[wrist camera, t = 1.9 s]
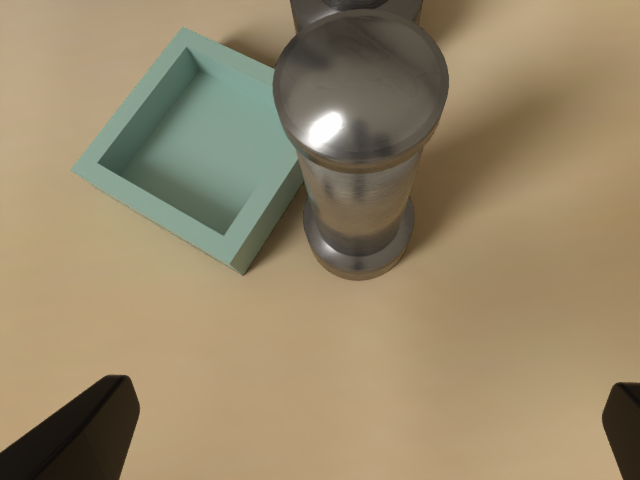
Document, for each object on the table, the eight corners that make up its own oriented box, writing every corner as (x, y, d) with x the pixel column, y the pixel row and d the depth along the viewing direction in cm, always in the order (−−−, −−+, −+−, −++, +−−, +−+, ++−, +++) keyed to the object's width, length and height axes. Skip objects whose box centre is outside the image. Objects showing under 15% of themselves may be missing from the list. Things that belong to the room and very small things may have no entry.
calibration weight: (435, 19, 26) (457, -79, 21) (379, 109, 25) (386, 30, 19) (335, -21, 28) (329, -123, 22) (276, 61, 26) (254, -24, 21)
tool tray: (339, 125, 25) (337, 98, 22) (243, 276, 23) (229, 264, 20) (198, 58, 27) (182, 26, 24) (99, 190, 25) (70, 169, 22)
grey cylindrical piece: (425, 213, 23) (501, 41, 11) (377, 299, 22) (403, 212, 10) (339, 170, 24) (322, -29, 12) (290, 250, 23) (217, 118, 11)
